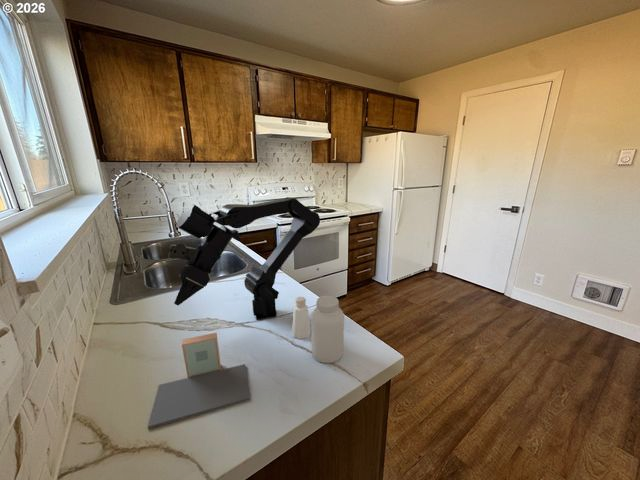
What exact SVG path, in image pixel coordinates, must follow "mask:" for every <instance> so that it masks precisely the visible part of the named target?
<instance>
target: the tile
mask: <svg viewBox="0 0 640 480" xmlns="http://www.w3.org/2000/svg"><path fill="white" fill-rule="evenodd" d="M217 333H218V332H213V333H212V332H211V333H208V334H203V335H198V336H197V335H196V336H193V337H187V338H183V339H182V342H181V348H182V354H183V359H184V364H185V370H186V375H187V377H186V378H189V377H193V376H198V375H202V374H206V373H210V372H214V371H218V370H222V363H221V356H220V355H221V353H220V348H219V342H218V341H219V340H218V334H217Z"/></svg>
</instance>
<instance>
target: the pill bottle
mask: <svg viewBox="0 0 640 480" xmlns="http://www.w3.org/2000/svg"><path fill="white" fill-rule="evenodd" d="M339 302H340V301H339V299H338V298H337V297H335V296H333V295H322V296H319V297H318V298H317V299H316V307H315V308H314V309H313V311H312V312H311V319H310V322H311V323H310V327H311V353H312V357H313V358H314V359H315V360H316V361H317V362H320V363H323V364H332V363H333V364H334V363H335V362H338V361H339V360H340V359H342V356H343V353H344V337H345V335H344V334H345V333H344V332H345V314H344V311H343V310H342V309H341V308H340V304H339Z"/></svg>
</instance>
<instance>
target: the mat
mask: <svg viewBox="0 0 640 480" xmlns="http://www.w3.org/2000/svg"><path fill="white" fill-rule="evenodd" d="M247 375H248V374H247V369H246V363H243V364H240V365H236V366H231V367H227V368H224V369H223V368H221V370H218V371H214V372H210V373H206V374H202V375H198V376H193V377H189V378H188V377H185V378H181V379H177V380H174V381H168V382H165V383H161V384H159V385H158V388H157V391H156V395H155V399H154V402H153V407H152V409H151V413H150V418H149V419H148V423H147V430H148V429H153V428H157V427H160V426H165V425H167V424H171V423H174V422H177V421H181V420H184V419H188V418H191V417H195V416H199V415H202V414H205V413H209V412H212V411H216V410H219V409H223V408H226V407H230V406H233V405H236V404H237V405H238V404H240V403H243V402H249V401H250V393H249V386H248V385H249V384H248V377H247Z"/></svg>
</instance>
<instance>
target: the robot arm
mask: <svg viewBox="0 0 640 480" xmlns="http://www.w3.org/2000/svg"><path fill="white" fill-rule="evenodd" d="M285 213H288V214H289V216H290V217H292V220H291V225H290V229H289V231H288V232H287V233H286V234H285V235H284V237H283V238H282V240H281V241H280V242H279V243H278V245H277V246H276V247H275V248H274V249H273V251H272V252H271V254H270V255H269V256H268V258H267V259H266V260H265V262H264V263H263V264H261V265H260V266H257V265H253V266H252V267H251V269H250V270H249V271H248V273H246V274H245V279H244V281H243V282H244V288H245V289H246V290H247V291H248V292H250V293H251V294H252V295H253V299H252V300H251V302H252V303H251V304H252V312H253V316H255V319H256V320H257V321H259V320H263V319H264V320H265V319H269V318H274V317H277V316H278V313H277V309H276V308H277V307H276V300H277V299H278V297H279V294H280V292H279V291H278V290H277V289H275V288H273V287H274V284H275V281H276V276H277V273H278V271H279V270H280V269H281V267H282V266H283V265H284V263H285V262H286V261H287V259H288V258H289V257H290V255H292V253H293V251H294V250H295V249H296V247H297V246H298V245H299V244H300V243H301V241H302V239H304V238H305V237H307V236H308V235H310V234H311V235H312V233H313V232H314V231H315V230H316V229H317V228H318V227H319V226H320V223H321V219H320V215H319V213H318V212H317V211H314V210H313V211H312V210H311V209H310V208H309V207H308V206H306V205H305V204H303V203H302V202H300V201H299V200H298V199H297V198H295V197H288V196H287V197H285V198H280V199H275V200H270V201H265V202H260V203H259V202H258V203H254V204H244V203H243V204H240V203H234V204H233V203H230V204H229V203H228V204H225V205H223V206H222V207H221V209H220V210H218V211H214V212H211V213H207V212H205V211H204V210H202V209H201V208H200V207H199V206H198V205H195V204H191V205H190V207H188V208H187V209H186V210H184V212H182V213H181V214H180V215H179V218H178V219H177V221H176V224H175V225H176V226H175V227H176V228H177V229H179V230H181V231H183V232H185V233H187V234H189V235H190V236H192V237H194V238H195V239H201V238H204V239H203V240H202V242H201V243H200V244H198V246H197V247H191V246H186V243H181V242H178V243H177V244H174V243H173V244H170V246H169V249H168V254H167V257H168V259H177V260H186V261H187V263H186V264H185V266H184V267H183V269H181V272H180V273H179V278H180V280H181V286H180V288H179V291H178V293H177V295H176V298H175V300H174V302H173V303H174V304H173V305H176V306H180V305H181V304H182V303H184V302H185V301H187V300H188V299H189V298H191V297H192V296H194V295H195V294H196V293H197V292H199V291H201V290H202V289H204V288H205V287H207V285H208V283H209V282H210V281H211V276H210V274H211V273H212V271H213V268H214V267H215V265H216V264H217V262H218V261H220V259H221V258H222V255H223V253H224V252H225V250H226V248H227V247H228V245H229V244H230V242H231V241H232V239H234V240H236V241H237V242H240V241H241V238H240V235H239V231H238V230H237V229H241V228H244V227H246V226H248V225H250V224H252V223H253V222H255V221H256V220H259V219H264V218H268V217H273V216H276V215H280V214H285ZM215 223H216V224H217V225H220V226H217V225H215ZM227 226H229V227H231V228H233V230H232V229H230V228H229V227H227Z"/></svg>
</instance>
